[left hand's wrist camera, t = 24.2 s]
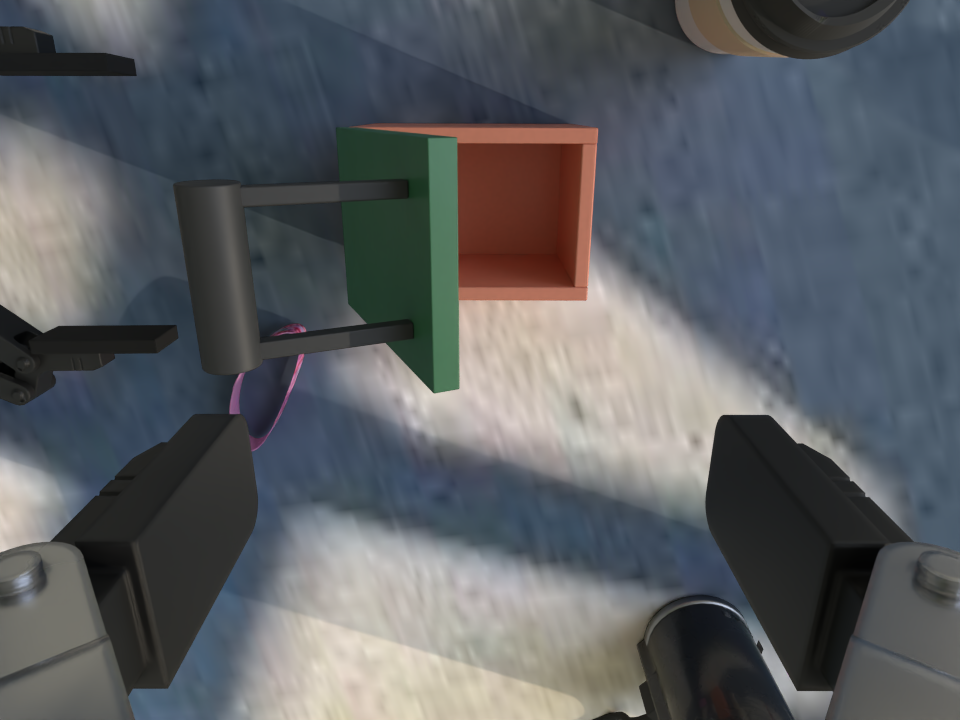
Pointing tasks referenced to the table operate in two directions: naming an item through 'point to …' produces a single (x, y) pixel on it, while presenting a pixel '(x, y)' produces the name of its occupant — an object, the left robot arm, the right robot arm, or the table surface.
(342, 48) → the table surface
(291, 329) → the headband
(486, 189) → the chest
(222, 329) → the lid
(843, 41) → the coffee cup
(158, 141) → the table surface
